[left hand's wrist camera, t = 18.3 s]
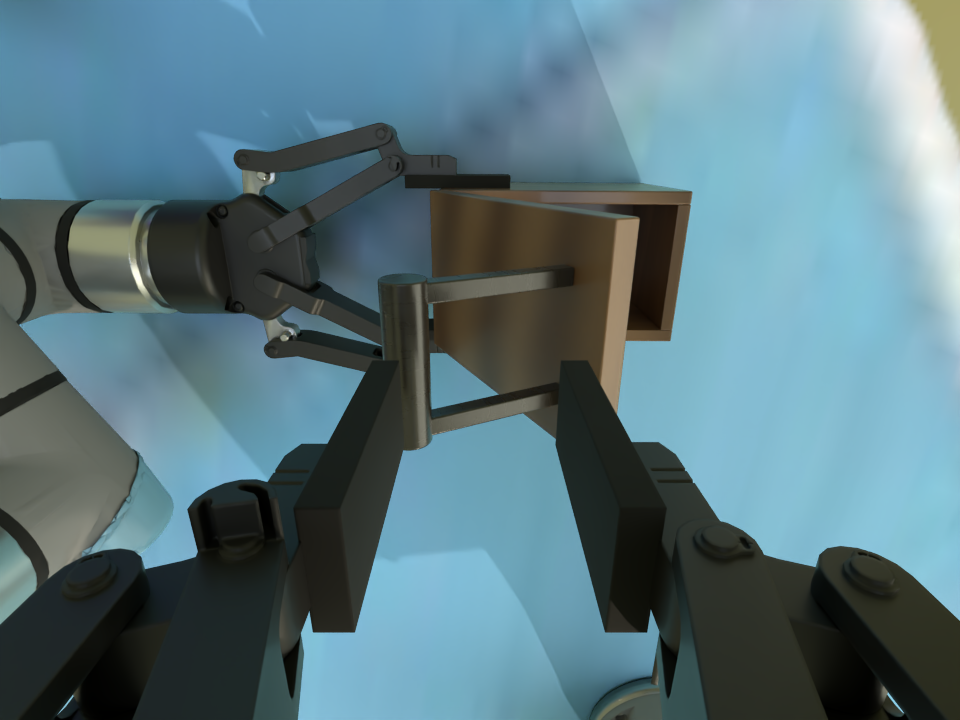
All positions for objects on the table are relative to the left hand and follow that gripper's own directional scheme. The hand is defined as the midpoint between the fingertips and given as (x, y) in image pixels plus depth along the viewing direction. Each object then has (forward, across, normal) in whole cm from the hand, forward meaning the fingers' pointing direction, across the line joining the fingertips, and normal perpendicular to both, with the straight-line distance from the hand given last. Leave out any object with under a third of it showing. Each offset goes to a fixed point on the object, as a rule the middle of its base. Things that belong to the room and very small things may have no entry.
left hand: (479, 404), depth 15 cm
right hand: (+22, +2, 0) cm, 22 cm away
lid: (+11, +2, 0) cm, 11 cm away
